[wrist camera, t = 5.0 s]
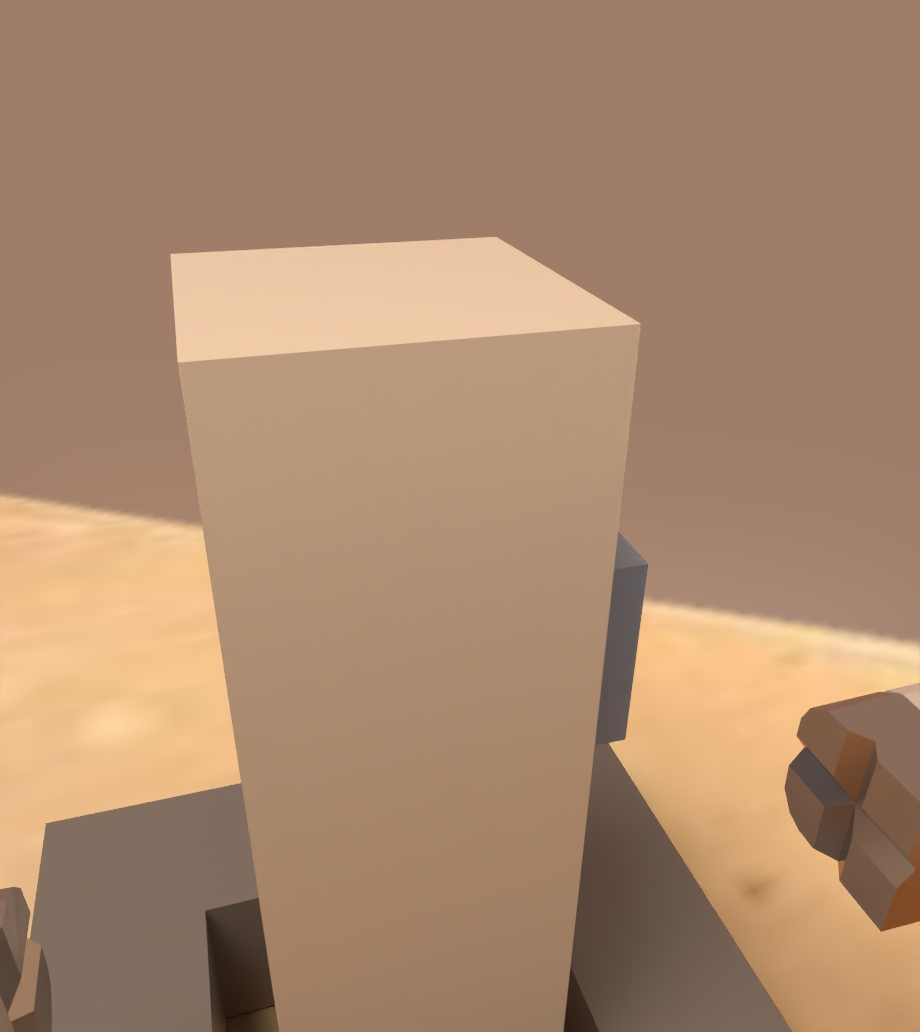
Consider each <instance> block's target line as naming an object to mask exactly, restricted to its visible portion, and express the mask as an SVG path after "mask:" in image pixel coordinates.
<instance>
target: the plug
mask: <svg viewBox="0 0 920 1032" xmlns="http://www.w3.org/2000/svg"><path fill="white" fill-rule="evenodd" d="M171 268H172V283H173V298H174V313H175V327H176V343H177V357H178V367H179V373H180V380H181V387H182V393H183V400H184V406H185V414H186V420H187V426H188V433H189V440H190V447H191V453H192V460H193V466H194V473H195V480H196V486H197V493H198V499H199V506H200V513H201V519H202V526H203V533H204V539H205V546H206V552H207V559H208V566H209V572H210V579H211V585H212V592H213V599H214V605H215V612H216V619H217V625H218V632H219V638H220V645H221V652H222V658H223V665H224V671H225V678H226V685H227V691H228V698H229V704H230V711H231V718H232V724H233V731H234V738H235V744H236V751H237V757H238V764H239V771H240V777H241V784H242V790H243V797H244V804H245V810H246V817H247V824H248V830H249V837H250V843H251V850H252V857H253V863H254V870H255V876H256V883H257V890H258V896H259V903H260V909H261V916H262V923H263V929H264V936H265V943H266V949H267V956H268V962H269V969H270V976H271V982H272V989H273V995H274V1002H275V1009H276V1015H277V1022H278V1028H279V1032H563V1030H564V1021H565V1012H566V1003H567V994H568V985H569V975H570V966H571V957H572V948H573V939H574V930H575V921H576V912H577V902H578V893H579V884H580V875H581V866H582V857H583V848H584V839H585V829H586V820H587V811H588V802H589V793H590V784H591V775H592V766H593V756H594V747H595V746H596V745H601V744H605V743H610V742H615V741H619V740H624V739H625V736H626V729H627V721H628V713H629V706H630V698H631V690H632V683H633V675H634V668H635V660H636V652H637V645H638V637H639V629H640V622H641V614H642V607H643V599H644V591H645V583H646V576H647V568H648V563H647V562H646V561H645V560H644V559H643V558H642V557H641V556H640V555H639V554H638V552H637V551H636V550H635V549H634V548H633V547H632V546H631V545H630V544H629V543H628V542H627V541H626V539H624V538H623V536H622V535H621V534H620V533H619V532H618V528H619V518H620V510H621V501H622V492H623V483H624V474H625V465H626V455H627V446H628V437H629V428H630V418H631V409H632V401H633V400H632V399H633V392H634V391H633V390H634V382H635V373H636V364H637V354H638V346H639V336H640V328H641V324H640V323H639V322H637V321H635V320H634V319H632V318H630V317H628V316H627V315H625V314H624V313H622V312H620V311H619V310H617V309H615V308H613V307H612V306H610V305H609V304H607V303H605V302H603V301H602V300H600V299H599V298H597V297H595V296H594V295H592V294H590V293H589V292H587V291H585V290H584V289H582V288H580V287H579V286H577V285H575V284H574V283H572V282H570V281H569V280H567V279H565V278H564V277H562V276H560V275H559V274H557V273H555V272H554V271H552V270H550V269H549V268H547V267H545V266H543V265H542V264H540V263H539V262H537V261H535V260H534V259H532V258H530V257H529V256H527V255H525V254H524V253H522V252H520V251H519V250H517V249H515V248H514V247H512V246H510V245H509V244H507V243H505V242H504V241H502V240H500V239H499V238H497V237H487V238H469V239H450V240H430V241H412V242H392V243H373V244H355V245H335V246H318V247H317V246H316V247H297V248H280V249H279V248H278V249H259V250H241V251H221V252H204V253H203V252H202V253H183V254H171Z"/></svg>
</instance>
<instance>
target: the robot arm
mask: <svg viewBox="0 0 920 1032" xmlns="http://www.w3.org/2000/svg"><path fill="white" fill-rule="evenodd" d="M797 737H798V738H799V740H800V742H801V743H802V745H803V746H804V749H803V750H802V751H801V752H800V753H799V754H798V756H797V757H796V758H795V759H794V760H793V761H792V763H791V764H790V765H789V768H788V773H787V779H786V784H785V792H786V797H787V801H788V806H789V811H790V813H791V815H792V817H793V819H794V821H795V823H796V825H797V827H798V829H799V831H800V832H801V833H802V835H803V836H804V837H805V838H806V840H807V841H808V842H809V844H810V845H811V846H812V847H813V848H814V849H816V850H818V851H820V852H822V853H823V854H825V855H827V856H829V857H831V858H833V859H835V860H837V861H838V867H839V881H840V882H841V883H842V884H843V886H844V887H845V888H846V889H847V890H848V892H849V893H850V894H851V895H852V897H853V898H854V899H855V900H856V901H857V903H858V904H859V905H860V906H861V908H862V909H863V910H864V911H865V912H866V914H867V915H868V916H869V917H870V919H871V920H872V921H873V922H874V923H875V925H876V926H877V927H878V928H879V930H880V931H881V932H882V931H885V930H889V929H893V928H896V927H900V926H904V925H908V924H911V923H915V922H919V921H920V683H918V684H914V685H909V686H905V687H901V688H896V689H892V690H888V691H886V692H877V693H873V694H869V695H865V696H860V697H856V698H852V699H848V700H843V701H839V702H835V703H831V704H827V705H822V706H818V707H814V708H810V709H809V711H808V712H807V713H806V714H805V715H804V716H803V717H802V718H801V721H800V725H799V729H798V732H797ZM29 917H30V911H29V908H28V906H27V903H26V901H25V898H24V896H23V893H22V891H21V888H17V887H10V888H5V889H0V1032H51V1030H52V1000H51V984H50V978H49V972H48V966H47V962H46V959H45V955H44V952H43V949H42V946H41V945H40V944H38V943H36V942H34V941H32V940H30V939H28V938H27V932H28V924H29Z"/></svg>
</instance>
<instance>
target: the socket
mask: <svg viewBox="0 0 920 1032" xmlns="http://www.w3.org/2000/svg"><path fill="white" fill-rule="evenodd" d="M30 940H32V941H34V942H36V943H38V944H40V945H41V946H42V949H43V952H44V955H45V959H46V962H47V966H48V972H49V978H50V984H51V1000H52V1030H51V1032H227V1019H226V1018H228V1017H232V1016H236V1015H239V1014H243V1013H247V1012H250V1011H254V1010H258V1009H261V1008H265V1007H269V1006H272V1005H275V1002H274V995H273V989H272V982H271V976H270V969H269V962H268V956H267V949H266V943H265V936H264V929H263V923H262V916H261V909H260V903H259V896H258V890H257V883H256V876H255V870H254V863H253V857H252V850H251V843H250V837H249V830H248V824H247V817H246V810H245V804H244V797H243V790H242V784H241V783H240V784H235V785H230V786H226V787H221V788H216V789H211V790H206V791H201V792H197V793H192V794H187V795H182V796H177V797H172V798H167V799H163V800H158V801H153V802H148V803H143V804H138V805H133V806H129V807H124V808H119V809H114V810H109V811H104V812H99V813H95V814H90V815H85V816H80V817H75V818H70V819H65V820H61V821H56V822H51V823H46V828H45V835H44V842H43V849H42V856H41V864H40V871H39V878H38V885H37V892H36V900H35V907H34V914H33V921H32V929H31V936H30ZM563 1032H792V1031H791V1029H790V1028H789V1026H788V1025H787V1023H786V1021H785V1020H784V1018H783V1017H782V1015H781V1014H780V1012H779V1010H778V1009H777V1007H776V1006H775V1004H774V1003H773V1001H772V999H771V998H770V996H769V995H768V993H767V992H766V990H765V988H764V987H763V985H762V984H761V982H760V981H759V979H758V977H757V976H756V974H755V973H754V971H753V970H752V968H751V966H750V965H749V963H748V962H747V960H746V959H745V957H744V955H743V954H742V952H741V951H740V949H739V948H738V946H737V944H736V943H735V941H734V940H733V938H732V937H731V935H730V933H729V932H728V930H727V929H726V927H725V926H724V924H723V922H722V921H721V919H720V918H719V916H718V915H717V913H716V911H715V910H714V908H713V907H712V905H711V904H710V902H709V900H708V899H707V897H706V896H705V894H704V893H703V891H702V889H701V888H700V886H699V885H698V883H697V882H696V880H695V878H694V877H693V875H692V874H691V872H690V871H689V869H688V867H687V866H686V864H685V863H684V861H683V860H682V858H681V856H680V855H679V853H678V852H677V850H676V849H675V847H674V845H673V844H672V842H671V841H670V839H669V838H668V836H667V834H666V833H665V831H664V830H663V828H662V827H661V825H660V823H659V822H658V820H657V819H656V817H655V816H654V814H653V812H652V811H651V809H650V808H649V806H648V805H647V803H646V801H645V800H644V798H643V797H642V795H641V794H640V792H639V790H638V789H637V787H636V786H635V784H634V783H633V781H632V779H631V778H630V776H629V775H628V773H627V772H626V770H625V768H624V767H623V765H622V764H621V762H620V761H619V759H618V757H617V756H616V754H615V753H614V751H613V750H612V748H611V746H610V745H609V743H605V744H601V745H596V746H595V747H594V756H593V766H592V775H591V784H590V793H589V802H588V811H587V820H586V829H585V839H584V848H583V857H582V866H581V875H580V884H579V893H578V902H577V912H576V921H575V930H574V939H573V948H572V957H571V966H570V975H569V985H568V994H567V1003H566V1012H565V1021H564V1030H563Z"/></svg>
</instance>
